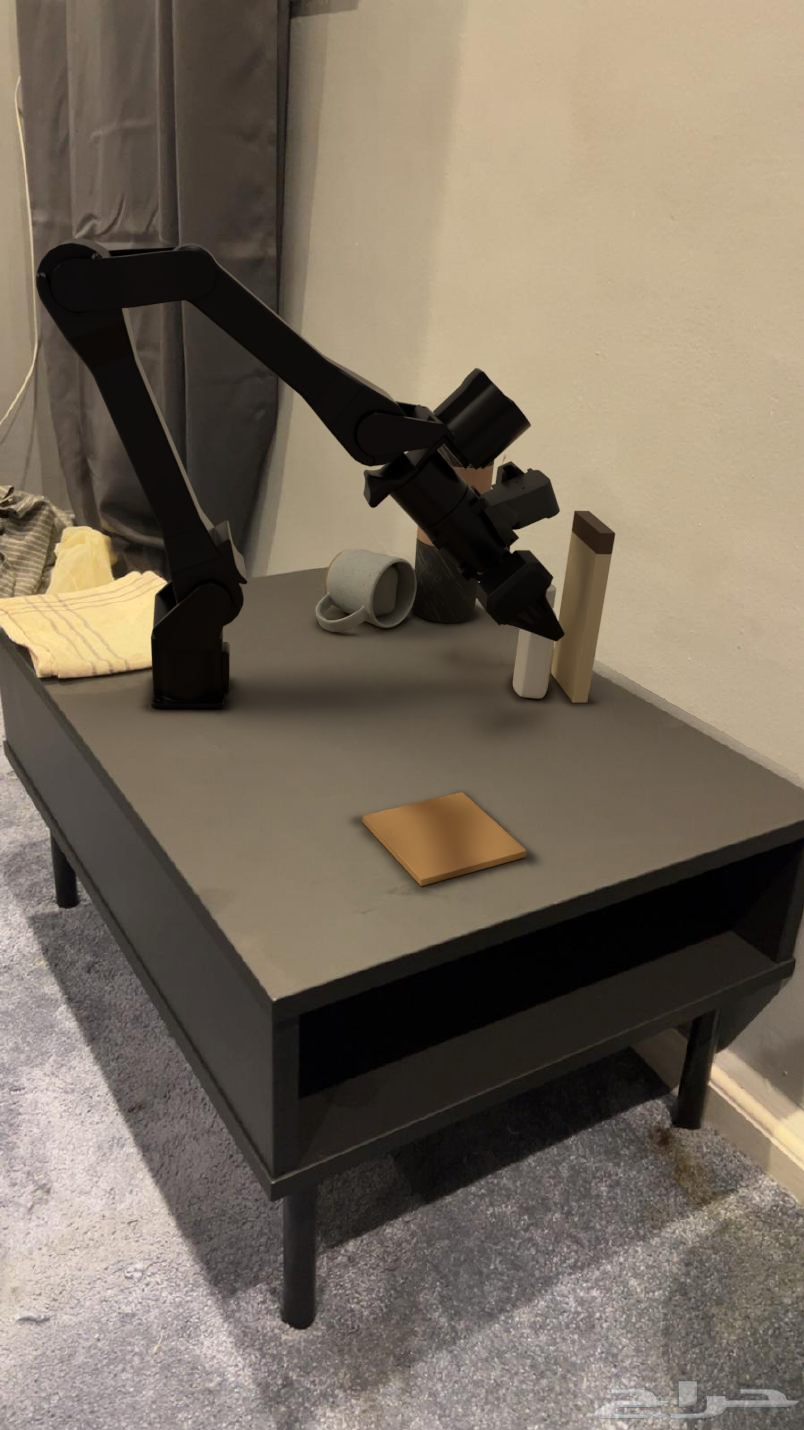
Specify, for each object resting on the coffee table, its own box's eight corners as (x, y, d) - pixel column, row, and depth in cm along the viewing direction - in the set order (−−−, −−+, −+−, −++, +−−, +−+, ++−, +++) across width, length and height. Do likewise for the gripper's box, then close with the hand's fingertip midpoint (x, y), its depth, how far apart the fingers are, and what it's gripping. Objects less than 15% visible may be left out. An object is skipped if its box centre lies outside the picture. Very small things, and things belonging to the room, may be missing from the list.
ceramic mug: (362, 598, 123) (365, 535, 119) (416, 618, 118) (420, 553, 115) (297, 622, 115) (298, 555, 112) (352, 644, 111) (354, 575, 107)
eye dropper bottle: (561, 685, 105) (579, 570, 100) (536, 703, 101) (553, 585, 95) (522, 672, 107) (537, 560, 102) (496, 690, 103) (511, 574, 97)
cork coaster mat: (421, 886, 73) (421, 879, 73) (362, 821, 80) (362, 815, 80) (526, 857, 77) (527, 850, 77) (461, 798, 84) (462, 791, 84)
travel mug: (471, 628, 117) (494, 448, 108) (404, 618, 118) (420, 439, 109) (479, 604, 124) (500, 433, 115) (415, 595, 125) (432, 425, 116)
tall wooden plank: (572, 703, 102) (599, 532, 94) (550, 672, 108) (574, 510, 100) (587, 702, 102) (615, 533, 94) (564, 672, 108) (589, 510, 100)
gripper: (543, 468, 84) (648, 597, 91) (484, 419, 100) (577, 532, 108) (439, 562, 86) (550, 681, 93) (398, 499, 102) (495, 605, 110)
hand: (545, 618), depth 101 cm, fingers open, 9 cm apart
